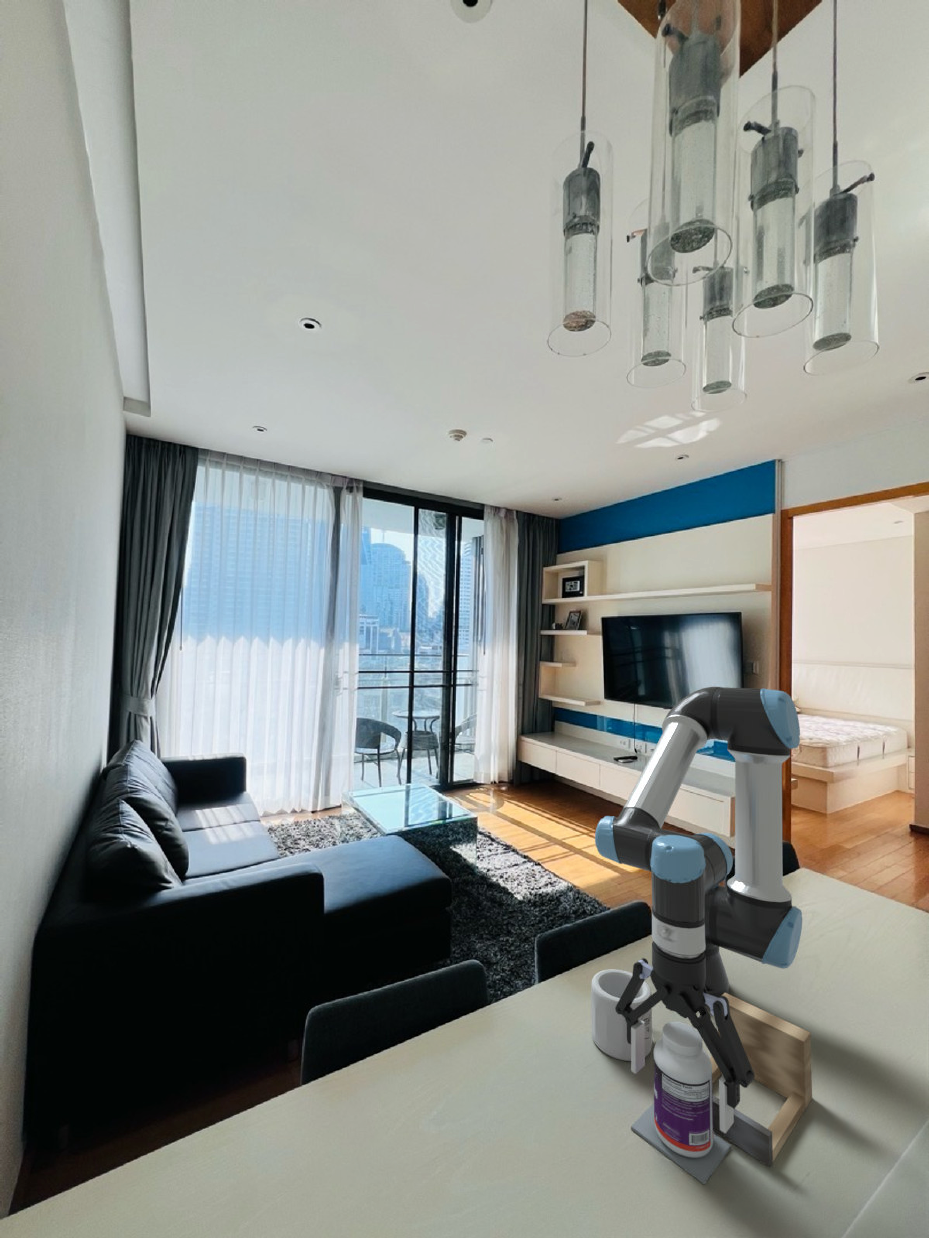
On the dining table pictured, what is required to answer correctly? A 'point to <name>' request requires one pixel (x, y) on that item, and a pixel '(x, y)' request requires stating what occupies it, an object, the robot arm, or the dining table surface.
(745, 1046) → the wooden bottle holder
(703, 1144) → the pill bottle
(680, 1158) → the mat
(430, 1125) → the dining table surface
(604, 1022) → the mug
